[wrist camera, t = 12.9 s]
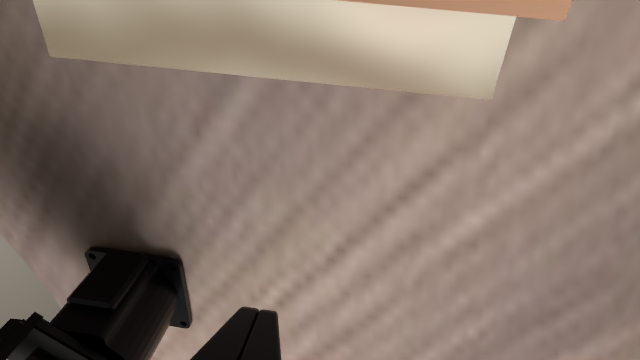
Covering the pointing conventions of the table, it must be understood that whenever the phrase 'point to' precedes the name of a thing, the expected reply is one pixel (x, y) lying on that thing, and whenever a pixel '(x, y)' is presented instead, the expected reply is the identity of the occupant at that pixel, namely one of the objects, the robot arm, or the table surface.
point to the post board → (289, 41)
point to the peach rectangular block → (490, 6)
